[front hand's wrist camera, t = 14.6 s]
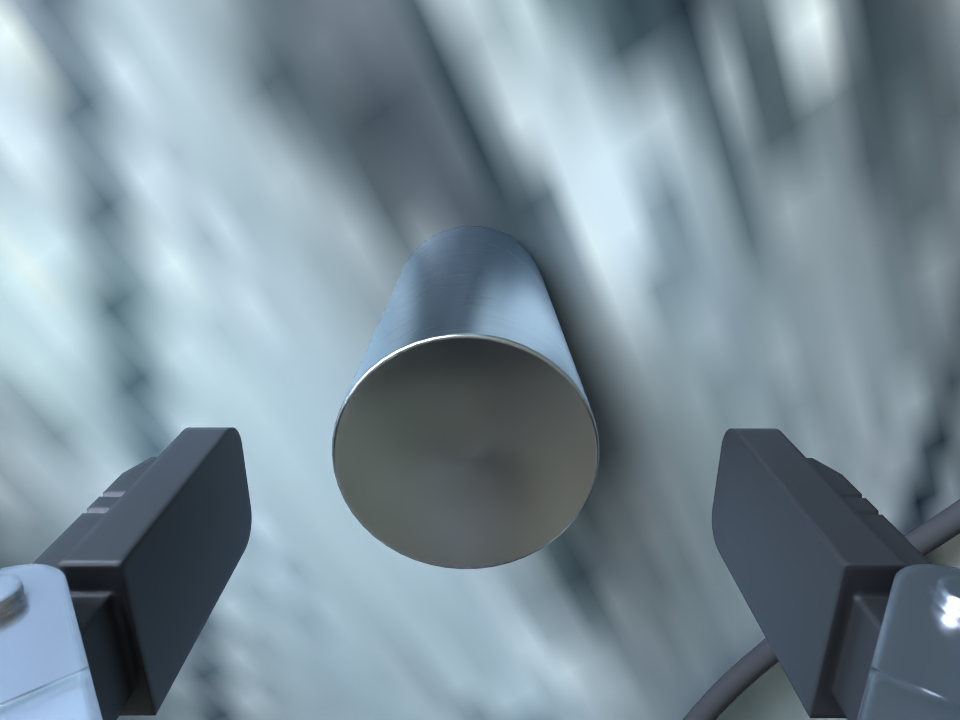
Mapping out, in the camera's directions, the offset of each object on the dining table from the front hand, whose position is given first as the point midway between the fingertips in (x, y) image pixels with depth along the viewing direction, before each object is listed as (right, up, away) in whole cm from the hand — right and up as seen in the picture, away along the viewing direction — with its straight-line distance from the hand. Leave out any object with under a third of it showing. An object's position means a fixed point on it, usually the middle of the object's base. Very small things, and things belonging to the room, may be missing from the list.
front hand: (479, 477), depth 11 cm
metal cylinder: (0, +4, +9) cm, 10 cm away
